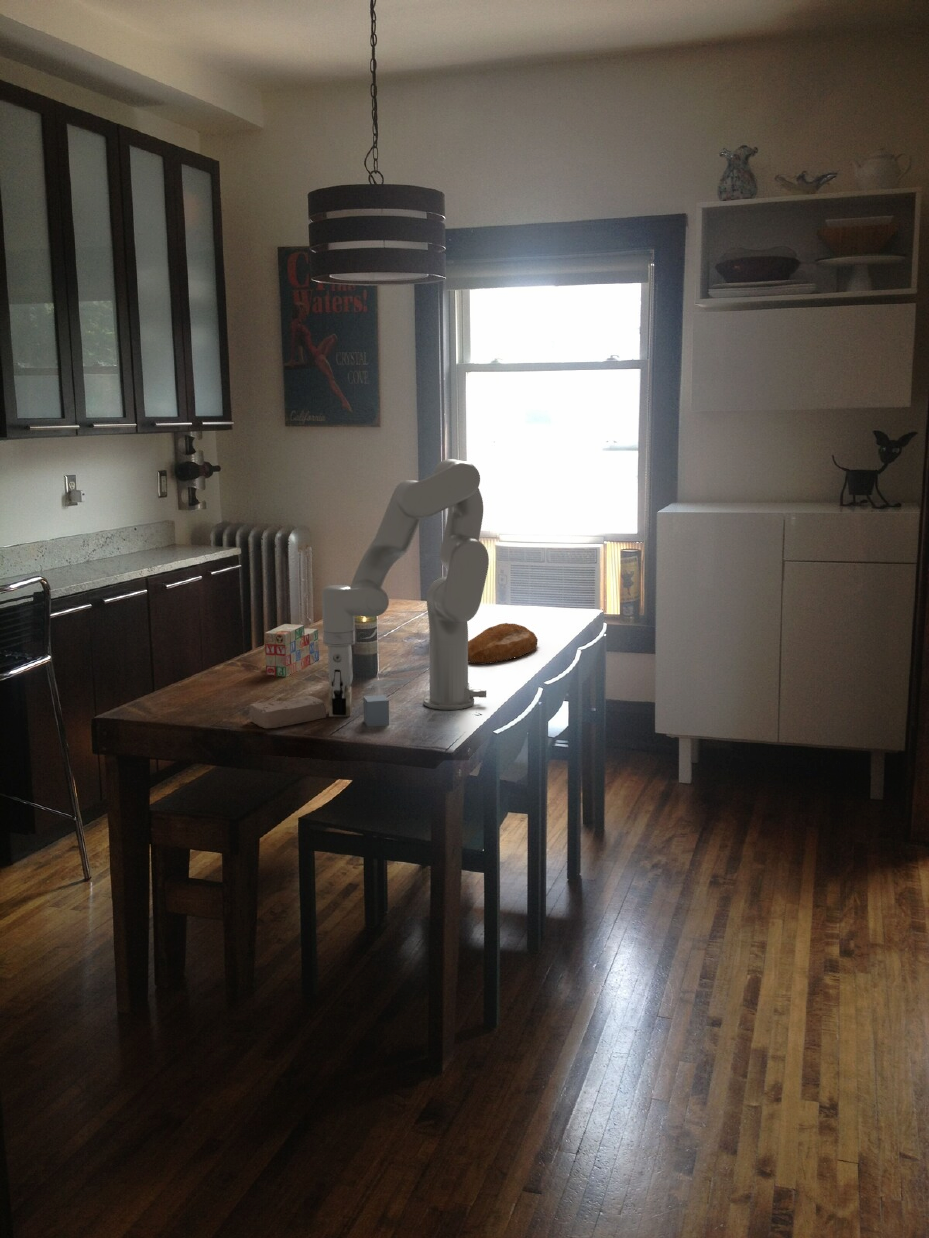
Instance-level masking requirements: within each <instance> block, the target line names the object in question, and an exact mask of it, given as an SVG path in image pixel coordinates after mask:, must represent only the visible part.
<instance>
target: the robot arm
mask: <svg viewBox="0 0 929 1238" xmlns="http://www.w3.org/2000/svg"><path fill="white" fill-rule="evenodd" d="M480 484H481V475H480V472H479V469H478V468H476V466H475V465H474V464H473V463H470V462H468V461H464V460H460V459H454V458H447V459H444V460H442V461H440V462H438V463H437V465H436V467H435V468H434V470H433V474H432V475H431V476H429V477H426V478H424V479H423V478H422V479H421V480H414V479H413V480H411V479H410V480H409V479H407V480H403V481H400V482H399V483H398V484H397V485H396V486H395V488H394V489H393V492H392V494H391V497H390V499H389V502H388V504H387V507H386V509H385V512H384V514H383V517H382V520H381V522H380V524H379V527H378V529H377V530H376V531H377V533H375V536H374V539H373V540H372V541H371V543H370V545H369V546H368V548H367V550H366V552H365V553H364V555H363V556H362V558H361V560H360V561H359V564H358V566H357V568H356V571H355V574H354V576H353V578H352V581H351V584H350V585H346V584H333V585H327V586H325V587H323V589H322V590H321V591H322V592H321V605H322V607H321V608H322V645H324V646H326V647H327V649H328V650H327V653H328V654H327V659H328V662H327V663H328V666H327V667H328V681H329V686H330V687H333V698H332V714H333V715H346V698H345V687H351V685H352V682H353V677H354V675H353V674H354V673H353V656H352V655H353V653H352V650H353V649H352V646H353V645H355V644H356V632H355V631H356V629H355V627H356V626H355V625H356V624H355V617H364V618H366V617H367V618H376V617H379V616H381V615H383V614H384V613H385V612H386V611H387V610H388V608H389V605H390V603H389V602H390V600H389V596H388V594H387V592H386V591H385V590H384V589H383V588H382V587H383V585H384V582H385V580H386V577H387V575H388V573H389V571H390V570H391V568H392V566H394V564H395V563H396V562H397V561H399V560H400V559H401V558H402V557H404V556H405V555H406V554H407V553H408V552H409V550H410V548H411V545H412V543H413V540H414V538H415V535H416V533H417V530H418V528H419V525H420V522H421V520H423V519H425V518H429V517H432V516H434V515H436V514H438V513H441V512H443V511H445V510H447V516H446V524H445V528H444V532H443V537H442V542H441V545H440V550H439V560H440V563H441V565H442V566H443V567H444V569H446V570H447V575H446V576H442V577H439V578H438V579H435V580H433V582H432V583H431V585H429V587H428V590H427V593H426V609H427V615H428V616H427V617H428V631H429V632H428V635H429V641H428V646H429V647H428V648H429V649H428V654H429V655H428V656H429V661H428V662H429V663H428V664H429V666H428V667H429V672H428V673H429V694H428V695H427V696H425V697H424V698H423V699H422V700H423V702H422V703H423V705H424V706H425V707H428V708H429V709H432V710H433V709H434V710H442V711H444V710H445V711H455V710H463V708H464V709H467V708H470V707H472V706H474V704H475V698H487V689H482V688H481V687H478V688H477V687H476V688H473V687H470V683H469V662H468V641H469V626H468V622H469V621H471V620H472V619H473V618H474V617H475V616H476V615H477V613H478V611H479V608H480V606H481V602H482V598H483V595H484V590H485V584H486V581H487V575H488V570H489V565H490V564H489V563H490V562H489V560H490V559H489V551H488V549H487V547H486V545H484V544H483V543H482V542H481V540H480V537H481V530H482V524H483V519H484V518H483V517H484V500H483V497H482V494H481V491H480V488H479V486H480ZM340 688H342V690H340Z"/></svg>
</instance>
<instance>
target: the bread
mask: <svg viewBox="0 0 929 1238" xmlns="http://www.w3.org/2000/svg"><path fill="white" fill-rule="evenodd" d="M538 641H539V640H538V638H537V636H536V634H535V633H534V632H533V631H531V630H529V629H528V628H527V627H526V626H523V625H520V624H517V623H508V622H505V623H500V624H497V625H494V626H490V627H488V628H486V629H484V630H482V631H481V632H480V633H479V634H477V635H476V636H475V637H473V638H471V639H470V640H468V663H469V664H478V663H486V664H491V663H490V662H494V663H497V662H496V661H499V662H502V661H501V660H504V661H507V660H506V659H509V660H511V659H510V658H514V657H517V658H520V657H522V655H523V656H524V654H525V655H526V653H527V654H529V653H530V652H532V651H534V650H535V649H536V647H537V646H538ZM519 656H520V657H519ZM514 659H515V658H514Z"/></svg>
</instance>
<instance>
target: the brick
mask: <svg viewBox="0 0 929 1238" xmlns="http://www.w3.org/2000/svg"><path fill="white" fill-rule="evenodd" d="M326 710H327V708H326V705H325V702H324V701H323V700H322V699H320V698H318V697H315V696H311V695H305V696H299V697H298V696H297V697H294V698H290V699H285V700H282V701H281V700H280V701H279V700H275V701H271V702H265V701H264V702H259V703H258V702H257V703H252V704H249V711H248V712H249V718H250V722H252V723H253V724H254V725H257V726H258V727H260V728H264V729H275V728H279V727H280V728H281V727H285V726H292V725H297V724H301V723H306V722H312V721H317V720H319V719H325V718H326V717H327V712H326Z"/></svg>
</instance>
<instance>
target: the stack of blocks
mask: <svg viewBox="0 0 929 1238" xmlns="http://www.w3.org/2000/svg"><path fill="white" fill-rule="evenodd" d="M319 642H320V641H319V628H318V629H317V628H305V625H304V624H294V623H293V624H290V623H284V624H281V625H279V626H277V627H275V628H273V629H271V630H269V631H266V632H265V633H264V643H265V644H264V653H265V675H274V676H273V677H278V676H282V677H281V678H288V677H290V676H291V675H290V674H292V675H293V673H294V674H296V673H297V672H296V671H298V672H300V671H301V670H302V668H303V669H304V667H305V668H306V667H308V666H310V665H312V664H314V663H316V662H317V661H319V660H320V643H319ZM315 661H316V662H315ZM309 664H310V665H309ZM299 670H300V671H299ZM295 672H296V673H295ZM289 675H290V676H289ZM287 676H288V677H287Z"/></svg>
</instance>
